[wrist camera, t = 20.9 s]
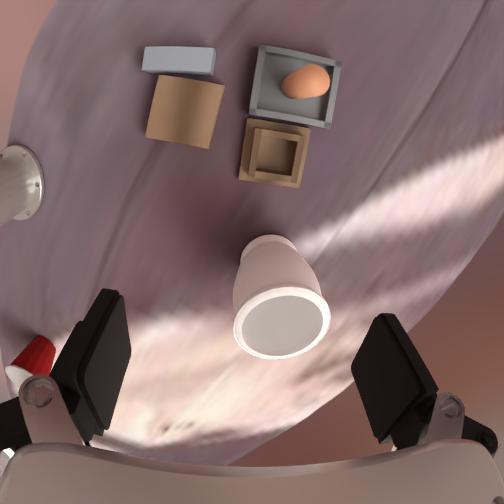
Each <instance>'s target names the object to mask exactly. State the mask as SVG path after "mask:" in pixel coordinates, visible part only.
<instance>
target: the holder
mask: <svg viewBox="0 0 504 504" xmlns="http://www.w3.org/2000/svg"><path fill="white" fill-rule="evenodd" d="M310 131H311V129H310V128H305V127H300V126H295V125H289V124H283V123H278V122H271V121H265V120H258V119H251V118H247V123H246V129H245V136H244V143H243V150H242V157H241V164H240V171H239V178H238V179H239V180H245V181H253V182H261V183H268V184H275V185H282V186H289V187H295V188H300V183H301V178H302V173H303V168H304V163H305V158H306V153H307V148H308V142H309V137H310Z"/></svg>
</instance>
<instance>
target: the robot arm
mask: <svg viewBox="0 0 504 504" xmlns="http://www.w3.org/2000/svg"><path fill="white" fill-rule="evenodd" d="M43 196H44V178H43V172H42V169H41V166H40V164H39V162H38V160H37V158H36V157H35V155H34V154H33V153H32V152H31V151H30V150H29V149H28V148H26V147H25V146H22V145H12V146H9V147H6V148H5V149H3V150H2V151H1V152H0V227H1V226H2V225H4V224H5V223H6V222H8V221H9V220H11V219H14V220H25V219H28V218H30V217H31V216H32V215H34V214H35V213H36V212H37V210H38V209H39V207H40V205H41V203H42V199H43ZM130 357H131V344H130V338H129V332H128V326H127V319H126V312H125V304H124V297H123V296H122V295H119V292H118V291H117V290H111V289H105V288H103V289H102V290H101V291H100V293H99V295H98V296H97V298H96V300H95V301H94V303H93V305H92V306H91V308H90V310H89V311H88V313H87V315H86V317H85V318H84V320H83V321H79V322H78V323H77V324H76V326H75V327H74V329H73V331H72V333H71V334H70V336H69V338H68V340H67V342H66V344H65V345H64V347H63V349H62V351H61V353H60V355H59V357H58V359H57V360H56V362H55V364H54V366H53V368H52V370H51V372H50V374H49V376H47V375H43V374H37V375H32V376H30V377H28V378H27V379H26V380H24V381H23V383H22V384H21V386H20V388H19V392H18V393H19V396H18V397H16V398H13V399H11V400H8V401H6V402H3V403H1V404H0V504H504V448H503V447H502V446H501V445H499V446H498V441H497V437H496V435H495V433H494V432H493V431H492V430H491V429H490V428H488V427H486V426H484V425H482V424H480V423H478V422H476V421H474V420H472V419H470V418H469V417H467V416H465V407H464V404H463V403H462V401H461V400H460V399H459V398H458V397H457V396H456V395H454V394H452V393H449V392H444V393H441V394H440V395H438V396H437V394H436V392H437V391H438V387H437V385H436V383H435V381H434V380H433V378H432V376H431V374H430V372H429V370H428V369H427V367H426V365H425V364H424V362H423V360H422V358H421V357H420V355H419V353H418V351H417V350H416V348H415V346H414V345H413V343H412V341H411V340H410V338H409V336H408V335H407V333H406V332H405V330H404V328H403V327H402V325H401V324H400V322H399V320H398V319H397V317H396V316H395V315H394V314H392V313H381V314H379V315H378V316H377V317H375V318H374V320H373V322H372V324H371V326H370V328H369V330H368V333H367V335H366V337H365V339H364V341H363V343H362V345H361V347H360V349H359V351H358V352H357V354H356V356H355V358H354V360H353V362H352V365H351V371H352V374H353V377H354V380H355V382H356V385H357V388H358V391H359V393H360V396H361V399H362V402H363V405H364V408H365V411H366V414H367V416H368V420H369V422H370V425H371V428H372V431H373V434H374V436H375V437H376V438H378V441H379V444H383V443H388V442H391V441H392V440H393V443H394V446H393V448H392V451H391V452H387V453H382V454H378V455H373V456H368V457H362V458H357V459H351V460H345V461H337V462H329V463H321V464H311V465H300V466H285V467H284V466H283V467H225V466H208V465H196V464H186V463H178V462H170V461H163V460H157V459H150V458H144V457H139V456H133V455H128V454H123V453H119V452H114V451H109V450H104V449H99V448H95V447H92V445H91V443H90V440H92V437H93V434H95V435H99V436H103V432H104V429H105V430H108V429H109V427H110V423H111V420H112V416H113V413H114V409H115V406H116V402H117V399H118V395H119V392H120V389H121V385H122V382H123V379H124V376H125V372H126V369H127V366H128V363H129V360H130ZM497 446H498V447H497Z"/></svg>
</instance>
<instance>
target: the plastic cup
mask: <svg viewBox="0 0 504 504" xmlns="http://www.w3.org/2000/svg"><path fill="white" fill-rule="evenodd" d="M55 352H56V349H55V347H54V345H53V344H52V343H51V342H50V341H49V340H48V339H47V338H45V337H42V336H38V337H36V338H35V339H34V340H33V341H32V342H31V343H30V344H29V345H27V347H26V348H25V349H24V350H23V351H22V352H21V353H20V354H19V355H18V357H17V358H16V359H15V360H14V361H13V362H12V363H11V364H10V365H8V366H6V368H5V372H6V374H7V375H8V377H9V378H10V379H11V380H12V381H13V383H14V384H16V385H17V386H18V387H19V388H20V386H21V384H22V383H23V381H24V380H26V379H27V378H28V377H30V376H32V375H37V374H43V375H47V376H49V374H50V371H51V368H52V364H53V360H54V356H55Z"/></svg>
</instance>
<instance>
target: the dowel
mask: <svg viewBox="0 0 504 504" xmlns="http://www.w3.org/2000/svg"><path fill="white" fill-rule="evenodd" d="M329 85H330V78H329V75H328V73H327V72H326V71H325V70H324V69H323V68H322V67H320V66H318V65H315V64H309V65H305V66H303V67H301V68H300V69H298V70H296V71H295V72H293V73H291V74H290V75H288V76H286V77H285V78H284V79H283V80H282V82H281V91H282V93H283V94H284V95H285V96H286V97H288V98H290V99H299V98H307V97H316V96H320V95H323V94H324V93H325V92H326V91H327V90H328V88H329Z"/></svg>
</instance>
